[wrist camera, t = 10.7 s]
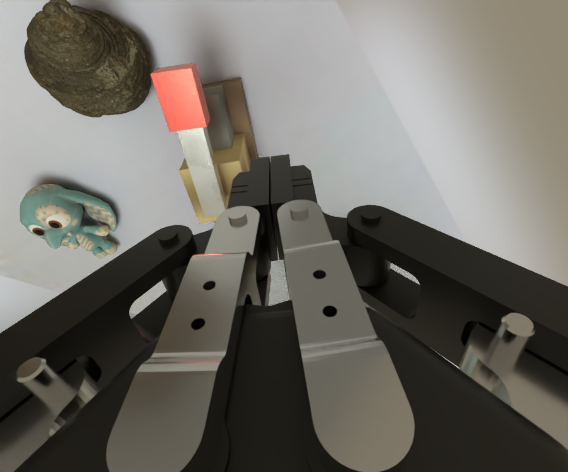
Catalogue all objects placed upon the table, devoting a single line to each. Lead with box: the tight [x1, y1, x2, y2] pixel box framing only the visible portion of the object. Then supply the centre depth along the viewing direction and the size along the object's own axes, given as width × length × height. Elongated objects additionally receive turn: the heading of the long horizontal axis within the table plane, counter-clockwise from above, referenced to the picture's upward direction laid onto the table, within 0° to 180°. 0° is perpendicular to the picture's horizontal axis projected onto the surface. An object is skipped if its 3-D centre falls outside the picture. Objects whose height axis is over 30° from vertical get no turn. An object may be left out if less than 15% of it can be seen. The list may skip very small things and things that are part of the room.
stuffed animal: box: [20, 184, 117, 258], centre depth 40 cm, size 11×7×12 cm
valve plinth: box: [179, 78, 258, 223], centre depth 35 cm, size 16×7×8 cm, turn 9°
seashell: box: [24, 0, 152, 117], centre depth 28 cm, size 11×12×10 cm
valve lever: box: [150, 63, 228, 217], centre depth 27 cm, size 12×3×3 cm, turn 7°
